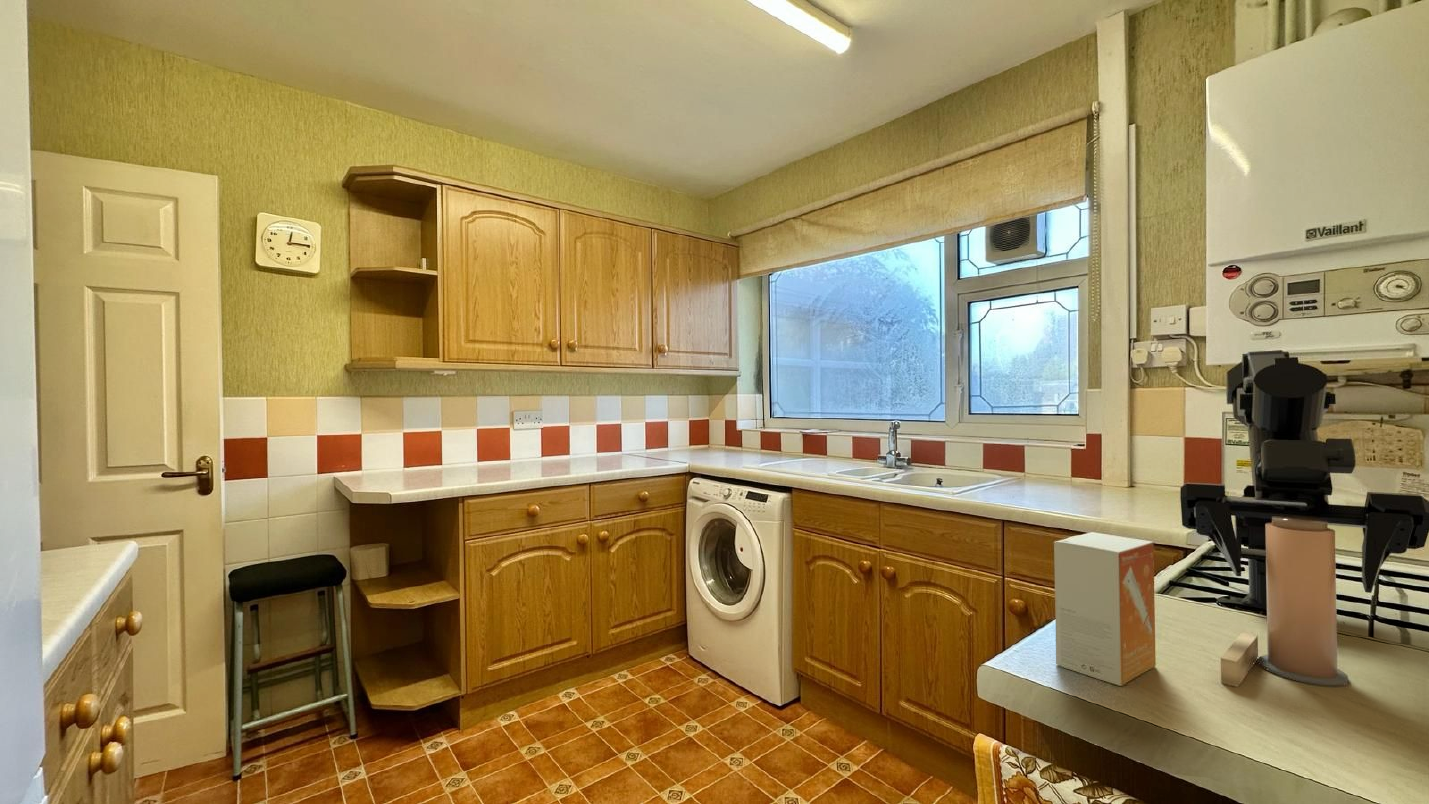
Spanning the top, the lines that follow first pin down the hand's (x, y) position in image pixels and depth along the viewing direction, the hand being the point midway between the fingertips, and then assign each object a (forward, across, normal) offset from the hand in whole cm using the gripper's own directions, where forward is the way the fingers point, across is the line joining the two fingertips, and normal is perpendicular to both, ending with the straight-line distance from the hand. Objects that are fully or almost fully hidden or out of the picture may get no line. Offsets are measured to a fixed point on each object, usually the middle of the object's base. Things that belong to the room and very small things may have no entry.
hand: (1300, 581), depth 59 cm
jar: (+5, 0, +7) cm, 9 cm away
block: (+8, -5, +5) cm, 11 cm away
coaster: (+6, 0, +7) cm, 9 cm away
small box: (+13, -15, 0) cm, 20 cm away
